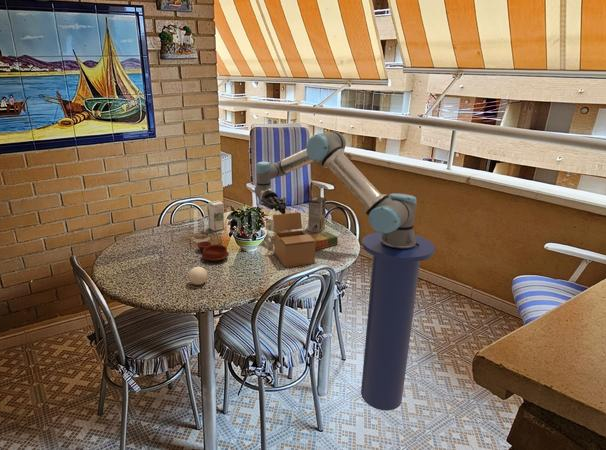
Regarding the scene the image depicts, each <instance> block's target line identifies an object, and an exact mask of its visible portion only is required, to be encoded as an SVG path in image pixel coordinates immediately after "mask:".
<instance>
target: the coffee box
mask: <svg viewBox="0 0 606 450" xmlns="http://www.w3.org/2000/svg"><path fill="white" fill-rule="evenodd" d="M326 201H327V198H326V197H321V196H315V195H314V196H312V198H311V199H309V200H308V216H307V217H308V218H307V219H308V220H307V232H311V233H316V234H319V233H322V231H323V230H324V229H325V227H326V204H327V203H326Z"/></svg>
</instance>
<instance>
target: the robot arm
mask: <svg viewBox="0 0 606 450" xmlns="http://www.w3.org/2000/svg"><path fill="white" fill-rule="evenodd" d="M346 145H347V142H346V138H345V136H344V135H343V134H342V133H340V132H339V131H336V130H331V131H326V132H321V133H316V134H314V135H312V136H311V137H309V139H308V140H307V142H306V145H305V146H306V148H305V149H303V150H301V151H298V152H296V153H294V154H292V155H290V156H288V157H285V158H283V159H282V160H279V161H277V162H273V163H271V162H269V161H258V162H257V163H256V165H255V166H256V167H255V176H256V177H255V181H256V182H255V187H254V194H255V195H256V197H257V198H258V199H259V200H260V206H264V207H265V208H267V209H269V210H274V212H279V213H280V214H286V209H287V202H286V201H287V199H286V198H287V197H279V196H278V194H277V193H276V192H275V191H274V190H273V189H271V187H272V186H271V185H272V179H276V178H279V177H283V176H286V175H287V174H288V173H291V172H294V171H296V170H298V169H301V168H303V167H306V166H307V165H311V164H312V163H314V162H316V163H319V164H320V165H321V166H322V167H323V168H324V169H330V171H331V172H332V173H333V174H334V175H335V176H336V177H337V178H338V179H339V180H340V181H341V183H343V185H344V186H345V187H346V188H347V189H348V190H349V191H350V192H351V194H352V195H353V196H354V197H355V198H356V199H357V200H358V202H360V204H361V205H362V206H364V208H365V214H366V215H367V216H368V223H369V225H370V227H371V228H372V229H373V230H374V231H375V232H380V233H383V234H382V236H381V241H380V242H381V244H382V245H384V246H385V247H388V248H391V249H397V250H408V249H412V248H414V247H415V246H416V245H418V246H419V245H420V244H418V243H416V239H415V235H416V234H415V231H414V226H415V218H416V210H417V205H418V204H417V197H416V196H414V195H411V194H405V193H390V194H389V195H388V194H384V193H381V192H380V190H378V189H377V188H376V187H375V186H374V185H373V183H371V182H370V180H368V178H367V177H366V176H365V175H364V174H363V173H362V172H361V171H360V170H359V169H358V167H356V166H355V164H354V163H353V162H352V161H351V160H350V159H349V158H348V157H347V156H346V155H345V149H346Z"/></svg>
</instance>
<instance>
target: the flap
mask: <svg viewBox="0 0 606 450" xmlns="http://www.w3.org/2000/svg"><path fill="white" fill-rule="evenodd" d="M272 222H273V232H274V233H278V232H287V231H296V230H303V224H302V213H301V212H290V213H289V212H288V213H285V214H282V213H279V214H273V215H272Z"/></svg>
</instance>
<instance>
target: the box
mask: <svg viewBox="0 0 606 450" xmlns="http://www.w3.org/2000/svg"><path fill="white" fill-rule="evenodd" d="M273 237H274V239H273V240H274V242H273V243H274V245H273V247H274V250H273V253H274V255H275V256H276V258H277V259H278V260H279V262H281V264H282V265H283V267H284V268H289V267H296V266H304V265H312V264H315V263H316V261H315V260H316V250H315V242H314V241H315V240H314V239H313V238H312V237H311V235H310V234H307V233H306V232H305V231H304V230H303V229H299V230H290V231H281V232H274V236H273Z"/></svg>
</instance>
